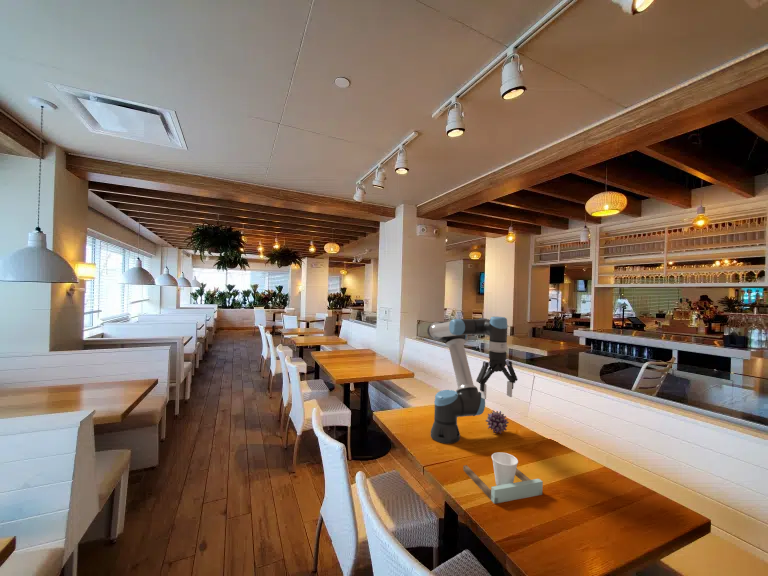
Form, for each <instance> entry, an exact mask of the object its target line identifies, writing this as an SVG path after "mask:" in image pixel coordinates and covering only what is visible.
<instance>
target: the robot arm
mask: <svg viewBox="0 0 768 576" xmlns="http://www.w3.org/2000/svg"><path fill="white" fill-rule="evenodd" d="M508 327H509V325H508V318H507V317H504V316H491V317H490V318H489V319H488V318H486V317H485V318H484V317H482V318H454V319H451V320H450V321H434V322H432V323H430V324H429V325H428V326H427V328H426V333H427V336H428V337H429V338H430V339H431V340H433V341H435V342H444V343H445V346H446V347H447V348H448V349H449V354H450V358H451V363H452V366H453V372H454V375H455V379H456V385H457V389H456V390H454V389H442V390H440V391H438V392H436V394H435V395H434V396H435V397H434V417H433V418H434V421H433V423H432V426H431V428H430V438H431V439H432V440H434V441H435V442H438V443H440V444H441V443H442V444H456V443H458V442H459V441H460V440H461V433H460V430H459V429H460V428H459V426H458V418H459V417H461V418H462V417H475V416H480V415H482V414H483V413H484V411H485V408H486V400H487V384H486V383H487V381H488V380H489V379H490V378H491V376H492V375H493V374H494V373H496V372H502V373H503V375H504V376H505V378H506V379H507V381H506V396H508V397H510V398H512V397H513V389H514V385H515V383H516V382H517V381H518V377H517V375H516V372H515V370H514V367H513V362H512V360H508V359H507V357H508V356H507V355H508V352H506V351H507V350H508V349H507V348H508V346H507V345H508V343H507V341H508ZM470 335H471V336H473V335H474V336H476V335H477V336H479V335H481V336H482V335H484V336H485V335H486V336H489V345H488V346H489V347H488V348H489V351H488V359H489V360H488V361H483V362H482V367H481V369H480V371H479V373H478V376H477V378H476V379H475V380H476V383H479V390H480V391H479V390H478V386H475V385H474V382H473V381H474V380H473V377H472V374H471V369H470V366H469V361H468V358H467V357H468V356H467V353H466V350H465V349H466V348H465V345H464V344H465V343H466V340H467V338H468V336H470Z"/></svg>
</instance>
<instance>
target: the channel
mask: <svg viewBox="0 0 768 576" xmlns="http://www.w3.org/2000/svg"><path fill="white" fill-rule="evenodd" d="M462 469H463V472H464V473H465V474H466V475H467V476H468V477H469V478H470V479H471V480H472V481H473V482H474V484H475V485H476V486H477V487H478V488H479V489H480V490H481V491H482V492H483V493H484V494H485V496H487V498H488V499H489V500H490V501H491V496H492V495H491V488H490V487H489V486H488V485H487V484H485V482H484V480H482V479H481V478H480V477H479V475H477V474H476V473H475V472H474V471H473V470H472V469H471V468H470V467H469V466H468V465H467V464H466V465H463V468H462ZM515 477H517V478H518V479H519V480H520V481H521V482H522V481H527V480H531V479H530V478H529V477H528V476H527V475H526V474H524V473H523V471H522V472H521V471H520V470H519V468H518V467H516V472H515ZM539 491H540V490H539ZM542 495H543V493H542V494H540V492H539V495H538V496H542ZM492 497H493V496H492ZM495 499H496V498H494V500H495ZM491 502H492V503H493V500H492V501H491ZM496 502H498V501H495V504H497V503H496Z"/></svg>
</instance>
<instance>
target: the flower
mask: <svg viewBox="0 0 768 576" xmlns="http://www.w3.org/2000/svg"><path fill="white" fill-rule="evenodd" d="M506 418H507V415H505V414H504V413H502V411H501V410H499V411H498V410H496V412H495V410H492V412H490V413H487V419H485V422H487V423H486V425H487V426H488V427H487V429H488V430H489V429H490V430H491V431H492V433H496V434H498V433H499V434H502V432H504V431H507V427H508V426H509V425H508V424H509V421H508V418H507V419H506Z"/></svg>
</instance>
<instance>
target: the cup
mask: <svg viewBox="0 0 768 576" xmlns="http://www.w3.org/2000/svg"><path fill="white" fill-rule="evenodd" d="M491 459H492V466H493V472H494V480H495V486H498V485H504V484H510V483H515V482H514V481H515V477H516V475H515V472H516V468H518V467H517V466H518V464H519V460H518V458H517V457H515V456H514V455H513V454H510V453H507V452H494V453H492V454H491Z"/></svg>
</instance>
